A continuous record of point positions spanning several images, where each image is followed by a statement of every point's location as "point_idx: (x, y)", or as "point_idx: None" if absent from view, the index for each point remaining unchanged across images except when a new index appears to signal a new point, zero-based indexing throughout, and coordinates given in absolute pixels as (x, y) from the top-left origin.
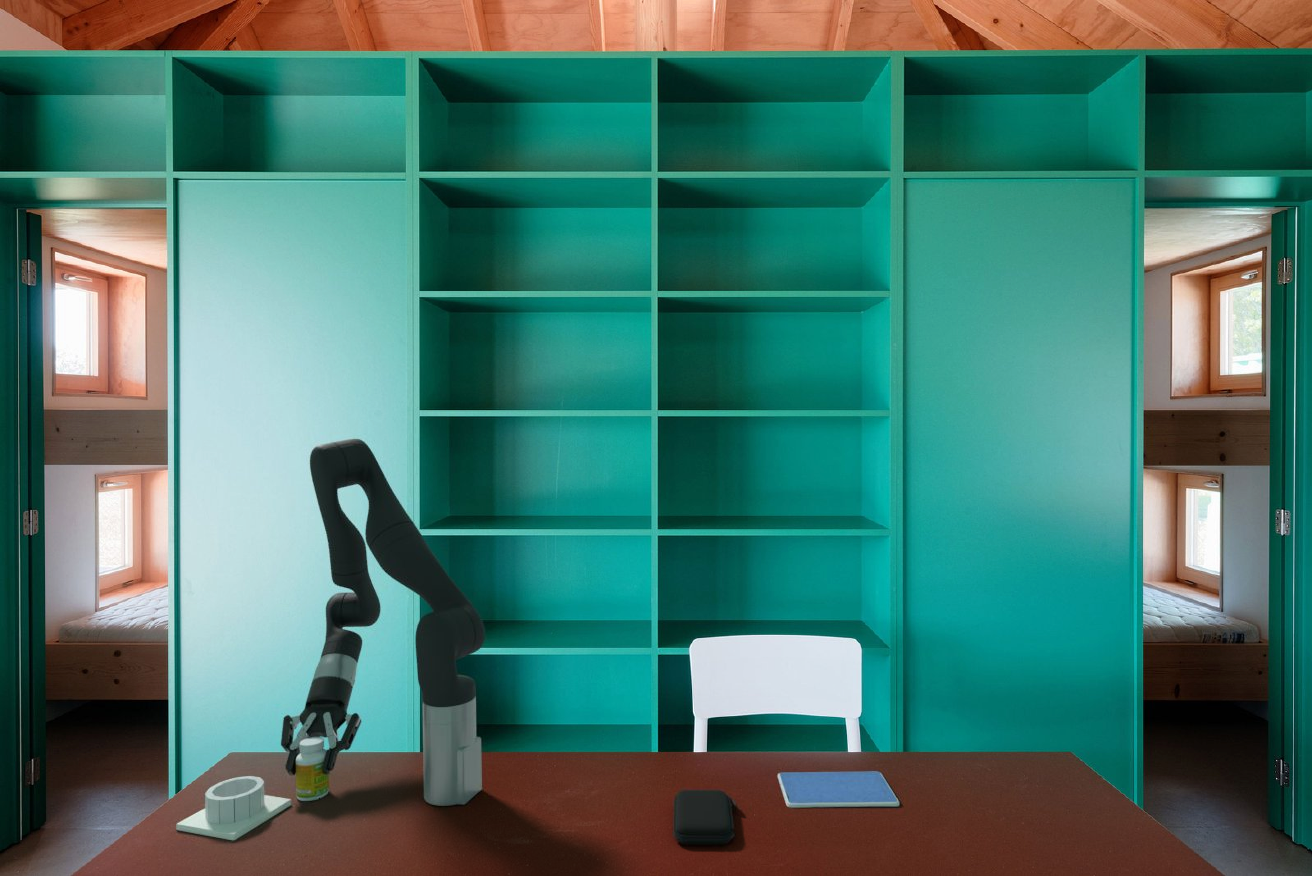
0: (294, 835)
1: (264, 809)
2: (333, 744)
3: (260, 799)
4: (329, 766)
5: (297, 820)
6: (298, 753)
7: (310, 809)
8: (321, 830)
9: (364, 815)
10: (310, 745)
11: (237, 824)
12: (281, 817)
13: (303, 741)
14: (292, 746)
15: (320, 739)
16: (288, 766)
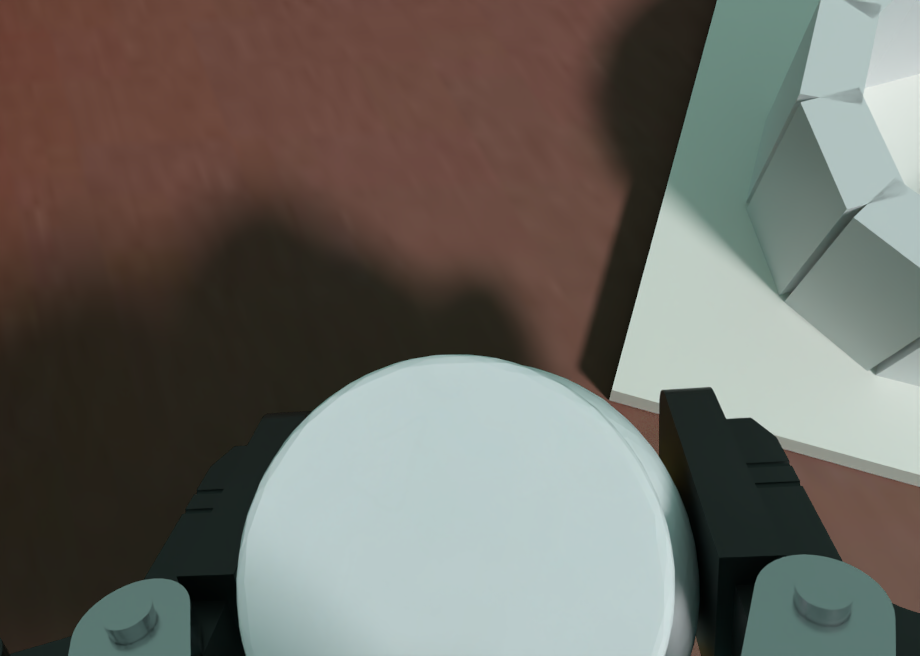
0: (389, 44)
1: (732, 229)
2: (107, 611)
3: (772, 163)
4: (237, 451)
5: (451, 197)
6: (711, 615)
7: (428, 338)
8: (254, 98)
9: (49, 264)
10: (389, 371)
11: (796, 42)
12: (582, 230)
13: (605, 542)
14: (831, 581)
15: (298, 634)
16: (719, 408)
